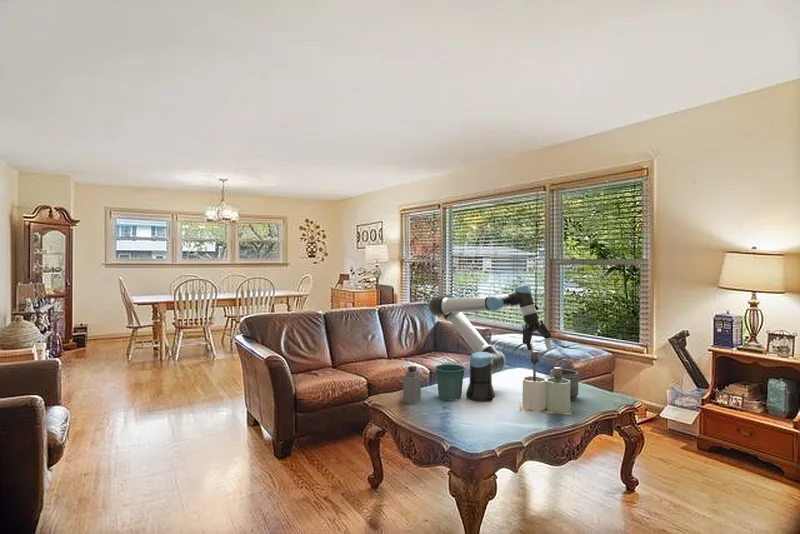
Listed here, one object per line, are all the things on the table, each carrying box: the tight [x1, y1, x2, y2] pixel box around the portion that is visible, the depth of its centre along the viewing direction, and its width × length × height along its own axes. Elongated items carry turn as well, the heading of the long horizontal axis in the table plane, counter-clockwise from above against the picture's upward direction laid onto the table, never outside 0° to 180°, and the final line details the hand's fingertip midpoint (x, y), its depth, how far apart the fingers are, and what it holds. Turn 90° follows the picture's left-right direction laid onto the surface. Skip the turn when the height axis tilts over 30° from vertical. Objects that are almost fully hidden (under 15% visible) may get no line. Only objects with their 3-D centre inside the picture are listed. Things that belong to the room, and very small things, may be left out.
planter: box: [549, 368, 580, 402], centre depth 248 cm, size 14×14×15 cm
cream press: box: [522, 375, 546, 411], centre depth 233 cm, size 11×14×14 cm
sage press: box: [545, 366, 571, 413], centre depth 231 cm, size 11×14×20 cm
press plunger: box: [527, 350, 541, 382], centre depth 231 cm, size 8×8×15 cm
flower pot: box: [434, 363, 466, 401], centre depth 251 cm, size 16×16×16 cm
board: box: [518, 401, 573, 416], centre depth 231 cm, size 24×14×1 cm, turn 76°
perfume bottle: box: [402, 365, 422, 405], centre depth 244 cm, size 7×7×18 cm
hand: (541, 353), depth 245 cm, fingers open, 13 cm apart
